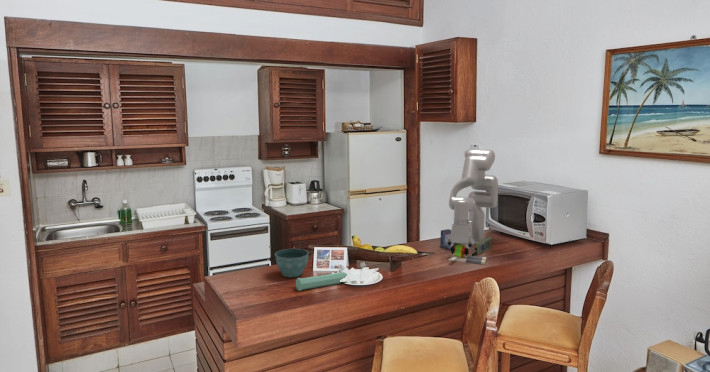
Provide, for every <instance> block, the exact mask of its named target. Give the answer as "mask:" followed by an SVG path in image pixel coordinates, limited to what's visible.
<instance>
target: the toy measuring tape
mask: <svg viewBox="0 0 710 372" xmlns="http://www.w3.org/2000/svg"><path fill="white" fill-rule="evenodd" d="M453 254H454V257H453V258H452V259H451V258H448V259H447V260H448V262H451V263H452V262H454V261H453V260H455V259H456V258H461V257H463V256H464V255H465V254H466V245H465V244H461V243H460V244H457V245H456V246H455V247H454V253H453Z"/></svg>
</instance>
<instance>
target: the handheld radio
mask: <svg viewBox="0 0 710 372" xmlns="http://www.w3.org/2000/svg"><path fill="white" fill-rule="evenodd" d="M491 247H492V238H491V236H488V237H484V239H483V240H481V241H479V242H477V243H475V244H474V252H473V253H471V254H470V256H476V255H477V256H479V255H481V254H482V253H484V252H486V251H488V250H489V249H491Z"/></svg>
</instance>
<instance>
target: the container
mask: <svg viewBox="0 0 710 372" xmlns="http://www.w3.org/2000/svg"><path fill="white" fill-rule="evenodd" d="M346 273H347V272H344V271H342V272H335V273H334V272H333V273H327V274H321V275H315V276H310V277H309V276H308V277H302V278H300V277H296V280H295V287H296V290H297V291H299V292H302V290H303V291H304V290H309V289H315V288H321V287H322V288H323V287H326V286H333V285H337V284H342V283H341V282H340V280H341V279H343V278H345V277H346V276H347V275H348V273H347V274H346Z"/></svg>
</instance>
